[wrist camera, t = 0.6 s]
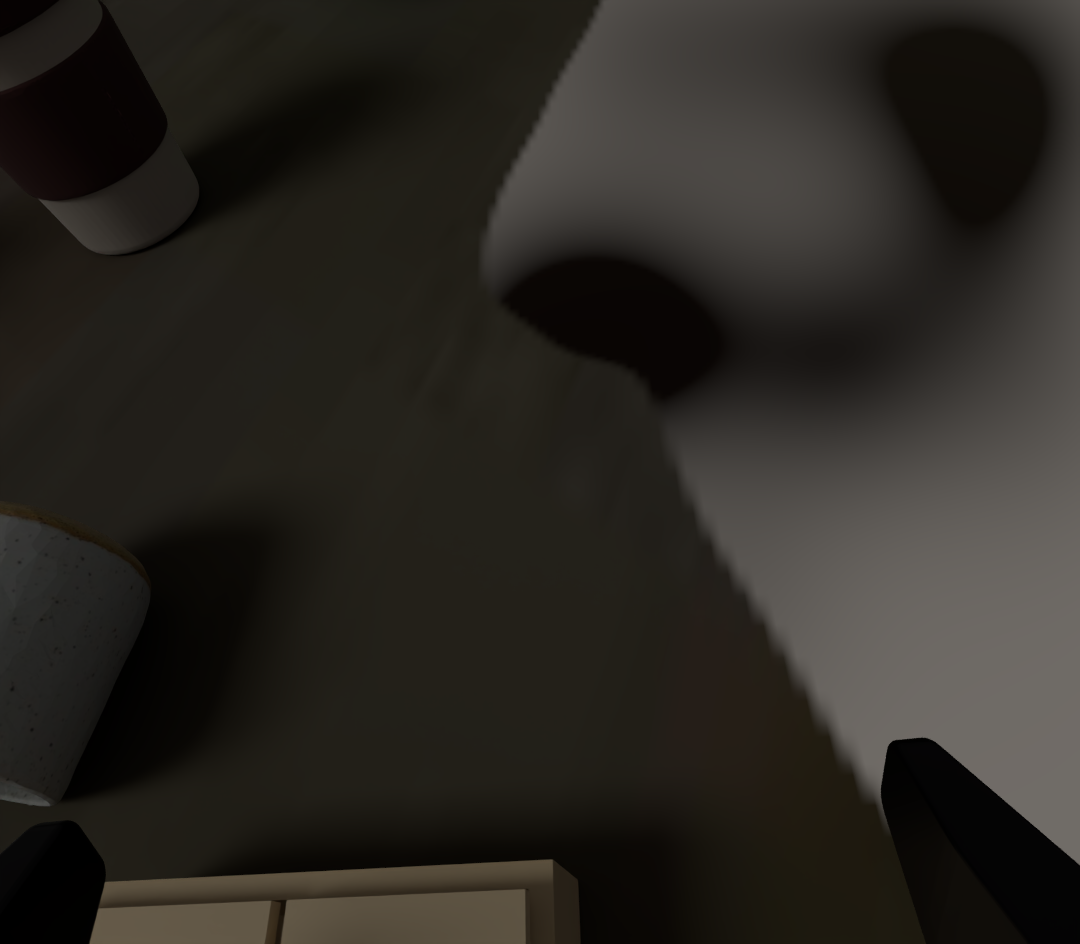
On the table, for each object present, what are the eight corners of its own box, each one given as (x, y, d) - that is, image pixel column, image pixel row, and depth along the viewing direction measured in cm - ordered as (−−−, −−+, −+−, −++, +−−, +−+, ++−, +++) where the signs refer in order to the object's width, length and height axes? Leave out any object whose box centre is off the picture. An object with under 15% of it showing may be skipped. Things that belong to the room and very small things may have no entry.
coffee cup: (43, 294, 43) (-229, 12, 31) (81, 183, 49) (-136, -92, 36) (215, 251, 42) (5, -57, 30) (233, 144, 48) (63, -153, 35)
